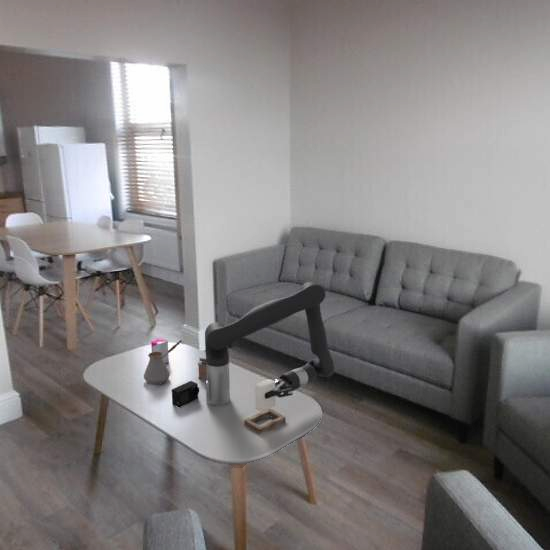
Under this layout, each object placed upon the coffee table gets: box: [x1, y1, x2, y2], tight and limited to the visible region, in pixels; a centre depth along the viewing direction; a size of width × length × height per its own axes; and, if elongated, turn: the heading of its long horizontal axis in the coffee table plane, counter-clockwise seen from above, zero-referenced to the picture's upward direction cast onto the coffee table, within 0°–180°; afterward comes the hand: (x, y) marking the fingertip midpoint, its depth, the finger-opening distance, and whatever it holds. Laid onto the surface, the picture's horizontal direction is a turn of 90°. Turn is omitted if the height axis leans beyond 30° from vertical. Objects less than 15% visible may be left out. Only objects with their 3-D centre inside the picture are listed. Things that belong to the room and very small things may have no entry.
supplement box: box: [150, 338, 170, 365], centre depth 251 cm, size 6×6×12 cm
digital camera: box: [171, 380, 200, 408], centre depth 215 cm, size 10×5×7 cm, turn 140°
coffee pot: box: [143, 339, 184, 386], centre depth 236 cm, size 21×12×15 cm, turn 141°
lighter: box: [197, 357, 207, 381], centre depth 235 cm, size 8×3×10 cm, turn 74°
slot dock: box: [243, 408, 286, 435], centre depth 200 cm, size 13×9×2 cm
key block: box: [254, 378, 276, 413], centre depth 197 cm, size 4×7×10 cm, turn 133°
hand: (261, 394), depth 196 cm, fingers closed on key block, 3 cm apart
